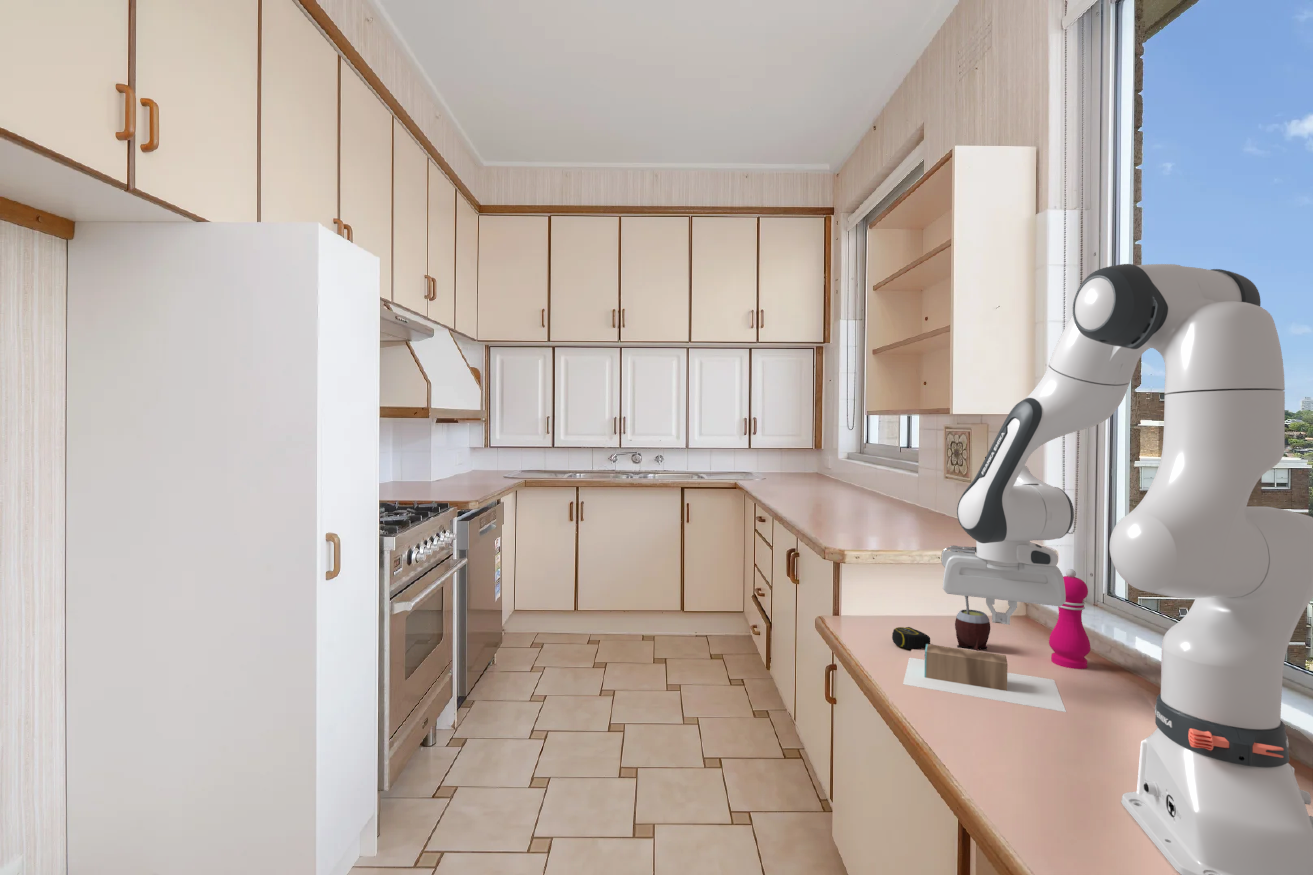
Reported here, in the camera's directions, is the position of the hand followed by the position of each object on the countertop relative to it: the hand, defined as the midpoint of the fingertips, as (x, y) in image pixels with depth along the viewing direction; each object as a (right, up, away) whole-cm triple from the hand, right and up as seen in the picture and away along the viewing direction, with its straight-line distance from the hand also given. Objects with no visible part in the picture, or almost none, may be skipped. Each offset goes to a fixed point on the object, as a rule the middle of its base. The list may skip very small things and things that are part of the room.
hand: (1000, 622), depth 120 cm
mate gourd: (+5, -12, +22) cm, 26 cm away
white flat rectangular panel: (-3, -12, +1) cm, 13 cm away
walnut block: (+1, -9, 0) cm, 9 cm away
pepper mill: (+21, -13, +12) cm, 27 cm away
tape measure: (-8, -12, +23) cm, 28 cm away
